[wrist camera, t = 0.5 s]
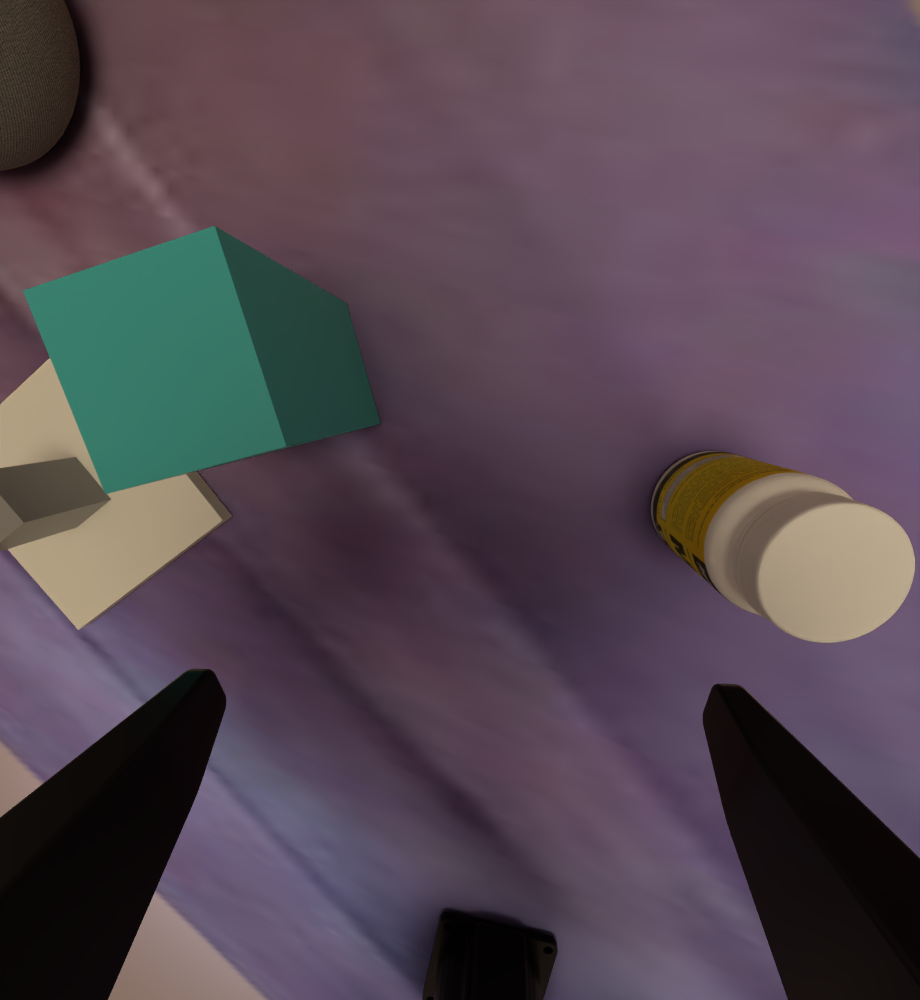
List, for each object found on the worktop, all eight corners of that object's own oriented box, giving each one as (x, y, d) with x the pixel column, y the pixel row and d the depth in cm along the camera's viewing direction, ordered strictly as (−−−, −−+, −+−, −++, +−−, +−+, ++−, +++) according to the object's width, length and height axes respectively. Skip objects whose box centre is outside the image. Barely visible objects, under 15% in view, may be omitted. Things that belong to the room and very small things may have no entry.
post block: (232, 516, 23) (159, 549, 18) (91, 622, 25) (-9, 678, 20) (89, 336, 22) (-30, 320, 17) (-47, 463, 24) (-190, 481, 19)
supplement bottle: (628, 527, 21) (705, 609, 13) (684, 430, 20) (807, 454, 12) (724, 574, 22) (860, 684, 13) (785, 480, 20) (975, 537, 12)
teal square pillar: (380, 423, 21) (286, 446, 12) (273, 451, 22) (105, 494, 13) (346, 303, 20) (214, 226, 11) (234, 336, 21) (22, 290, 12)
